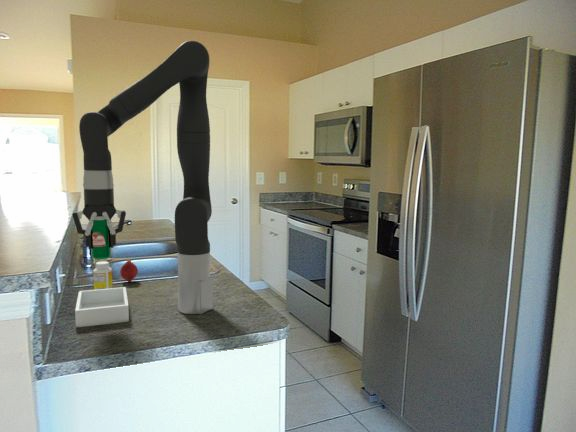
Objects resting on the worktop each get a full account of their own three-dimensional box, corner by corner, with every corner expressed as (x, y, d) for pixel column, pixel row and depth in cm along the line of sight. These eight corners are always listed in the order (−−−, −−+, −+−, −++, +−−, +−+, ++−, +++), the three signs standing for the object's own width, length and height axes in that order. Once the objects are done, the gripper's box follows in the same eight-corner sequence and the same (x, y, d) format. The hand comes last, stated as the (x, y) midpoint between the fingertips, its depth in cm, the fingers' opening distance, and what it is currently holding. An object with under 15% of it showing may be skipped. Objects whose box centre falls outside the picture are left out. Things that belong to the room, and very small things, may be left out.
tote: (126, 301, 138) (125, 287, 137) (128, 321, 121) (128, 305, 120) (79, 305, 133) (79, 291, 132) (75, 327, 116) (75, 310, 116)
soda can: (87, 259, 123) (86, 216, 121) (98, 255, 128) (96, 213, 126) (104, 260, 122) (103, 216, 120) (114, 256, 127) (113, 214, 125)
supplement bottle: (108, 289, 149) (107, 259, 148) (115, 293, 145) (114, 262, 144) (91, 293, 145) (90, 262, 144) (98, 297, 141) (96, 265, 140)
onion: (132, 284, 155) (131, 262, 154) (117, 283, 156) (116, 261, 155) (140, 280, 161) (140, 258, 160) (126, 279, 162) (125, 257, 161)
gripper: (125, 185, 128) (127, 244, 131) (70, 186, 123) (73, 246, 125) (127, 187, 121) (129, 249, 124) (68, 188, 116) (71, 252, 118)
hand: (101, 247), depth 124 cm, fingers closed on soda can, 5 cm apart
